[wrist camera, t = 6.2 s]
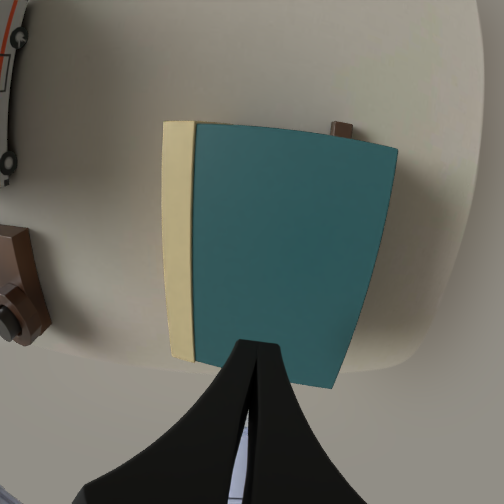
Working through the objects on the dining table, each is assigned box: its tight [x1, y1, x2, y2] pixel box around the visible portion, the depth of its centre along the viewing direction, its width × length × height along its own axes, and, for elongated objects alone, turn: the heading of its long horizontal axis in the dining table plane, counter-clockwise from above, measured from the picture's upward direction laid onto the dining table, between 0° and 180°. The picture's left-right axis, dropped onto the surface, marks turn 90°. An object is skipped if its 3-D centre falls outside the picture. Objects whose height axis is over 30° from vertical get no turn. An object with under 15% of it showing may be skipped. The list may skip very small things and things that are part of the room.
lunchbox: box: [162, 121, 398, 389], centre depth 14 cm, size 12×5×9 cm
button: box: [0, 306, 22, 342], centre depth 18 cm, size 3×3×2 cm
